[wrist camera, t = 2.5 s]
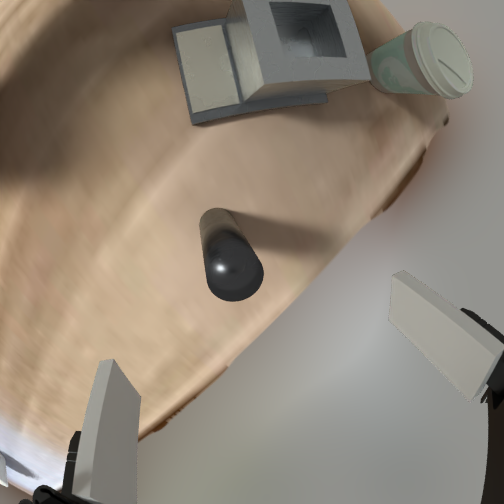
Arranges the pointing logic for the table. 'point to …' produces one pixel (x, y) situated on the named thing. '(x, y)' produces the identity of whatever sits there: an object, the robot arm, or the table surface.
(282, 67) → the square frame housing
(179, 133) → the table surface
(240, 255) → the black tapered cylinder
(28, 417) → the table surface
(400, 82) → the coffee cup
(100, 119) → the table surface
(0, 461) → the white tapered cylinder
